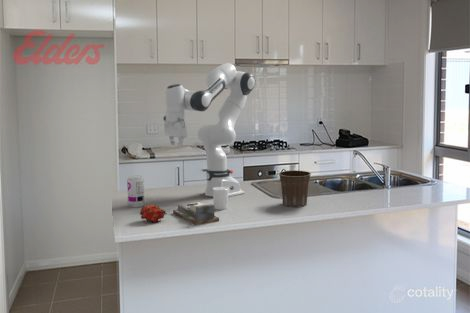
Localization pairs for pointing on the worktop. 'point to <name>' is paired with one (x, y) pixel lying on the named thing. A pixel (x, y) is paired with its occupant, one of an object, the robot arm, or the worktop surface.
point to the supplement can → (135, 191)
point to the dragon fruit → (152, 213)
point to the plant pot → (294, 187)
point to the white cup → (220, 197)
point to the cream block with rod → (194, 206)
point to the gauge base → (197, 214)
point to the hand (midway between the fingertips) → (176, 145)
